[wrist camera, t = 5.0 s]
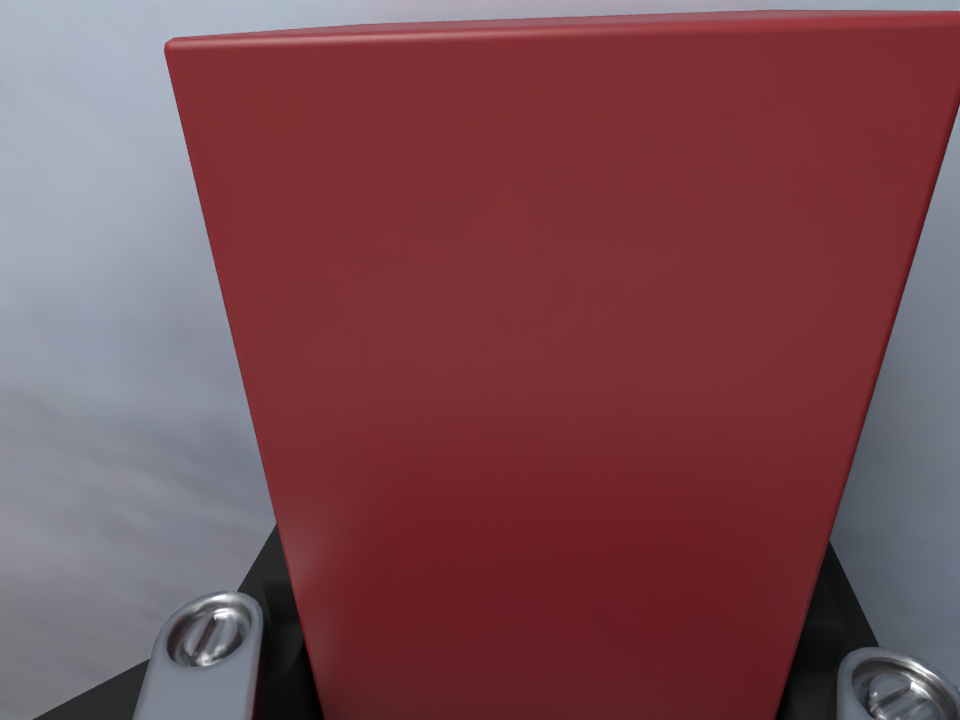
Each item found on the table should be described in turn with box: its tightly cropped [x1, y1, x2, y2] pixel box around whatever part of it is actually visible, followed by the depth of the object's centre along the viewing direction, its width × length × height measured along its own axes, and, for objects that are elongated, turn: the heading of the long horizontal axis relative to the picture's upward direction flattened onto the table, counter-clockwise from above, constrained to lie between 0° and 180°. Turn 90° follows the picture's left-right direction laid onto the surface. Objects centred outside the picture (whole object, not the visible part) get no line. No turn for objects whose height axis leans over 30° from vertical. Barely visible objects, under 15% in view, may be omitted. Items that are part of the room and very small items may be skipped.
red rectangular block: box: [164, 10, 960, 720], centre depth 10 cm, size 5×15×5 cm, turn 1°
